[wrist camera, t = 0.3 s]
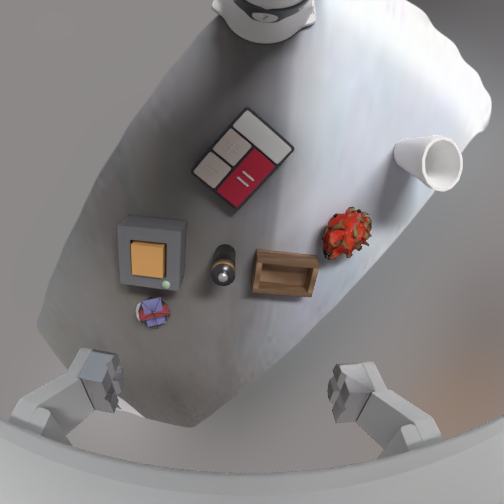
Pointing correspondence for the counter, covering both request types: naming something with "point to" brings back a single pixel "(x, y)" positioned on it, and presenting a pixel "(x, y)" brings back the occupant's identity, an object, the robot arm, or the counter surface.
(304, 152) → the counter surface
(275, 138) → the calculator
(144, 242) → the button
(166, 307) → the geometric puzzle
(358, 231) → the dragon fruit
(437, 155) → the foam cup
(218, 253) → the battery cell
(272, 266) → the box
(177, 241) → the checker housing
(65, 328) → the counter surface
